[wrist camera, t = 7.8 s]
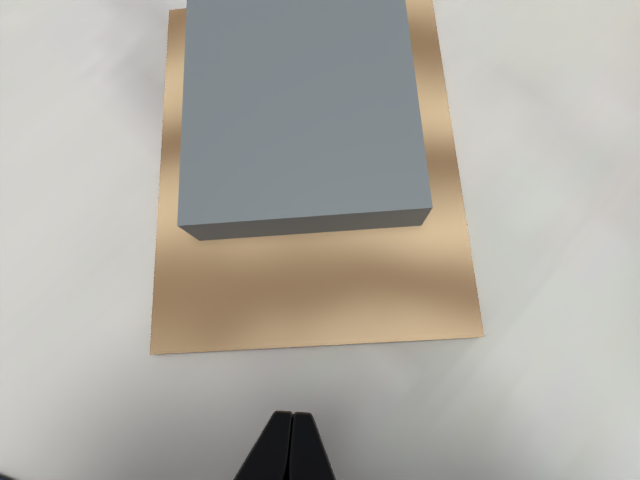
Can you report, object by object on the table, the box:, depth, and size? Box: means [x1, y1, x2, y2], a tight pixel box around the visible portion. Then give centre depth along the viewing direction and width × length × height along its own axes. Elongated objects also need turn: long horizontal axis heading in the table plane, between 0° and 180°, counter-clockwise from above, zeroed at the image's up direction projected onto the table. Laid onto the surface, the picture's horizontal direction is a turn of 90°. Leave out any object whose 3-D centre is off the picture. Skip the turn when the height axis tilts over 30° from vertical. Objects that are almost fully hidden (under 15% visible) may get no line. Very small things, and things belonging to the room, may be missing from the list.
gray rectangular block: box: [177, 0, 433, 241], centre depth 18 cm, size 2×10×12 cm
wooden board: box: [150, 0, 484, 355], centre depth 19 cm, size 18×14×1 cm
